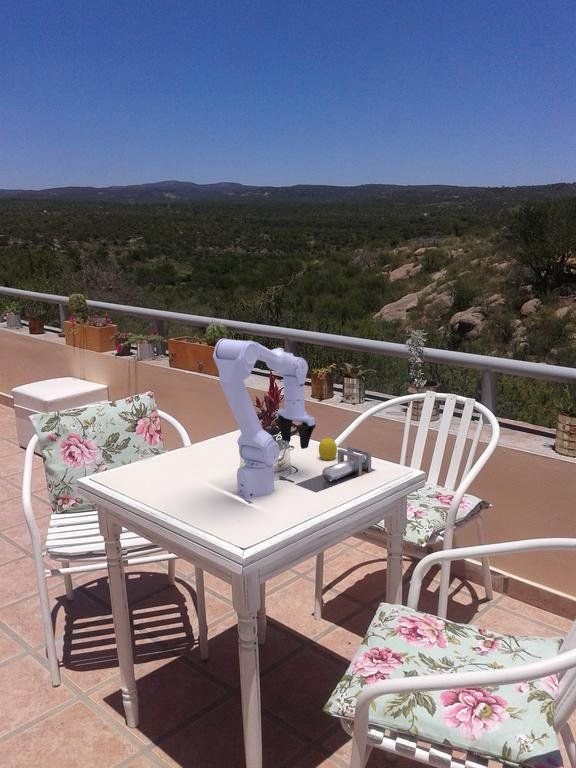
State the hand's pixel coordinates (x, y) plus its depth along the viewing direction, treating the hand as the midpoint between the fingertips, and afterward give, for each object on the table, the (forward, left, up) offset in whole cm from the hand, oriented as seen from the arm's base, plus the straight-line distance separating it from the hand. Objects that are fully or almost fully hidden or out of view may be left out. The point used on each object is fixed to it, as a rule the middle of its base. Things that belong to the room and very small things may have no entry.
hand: (295, 445), depth 187 cm
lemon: (+14, +5, -10) cm, 18 cm away
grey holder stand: (+8, -10, -9) cm, 16 cm away
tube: (+11, -9, -8) cm, 16 cm away
